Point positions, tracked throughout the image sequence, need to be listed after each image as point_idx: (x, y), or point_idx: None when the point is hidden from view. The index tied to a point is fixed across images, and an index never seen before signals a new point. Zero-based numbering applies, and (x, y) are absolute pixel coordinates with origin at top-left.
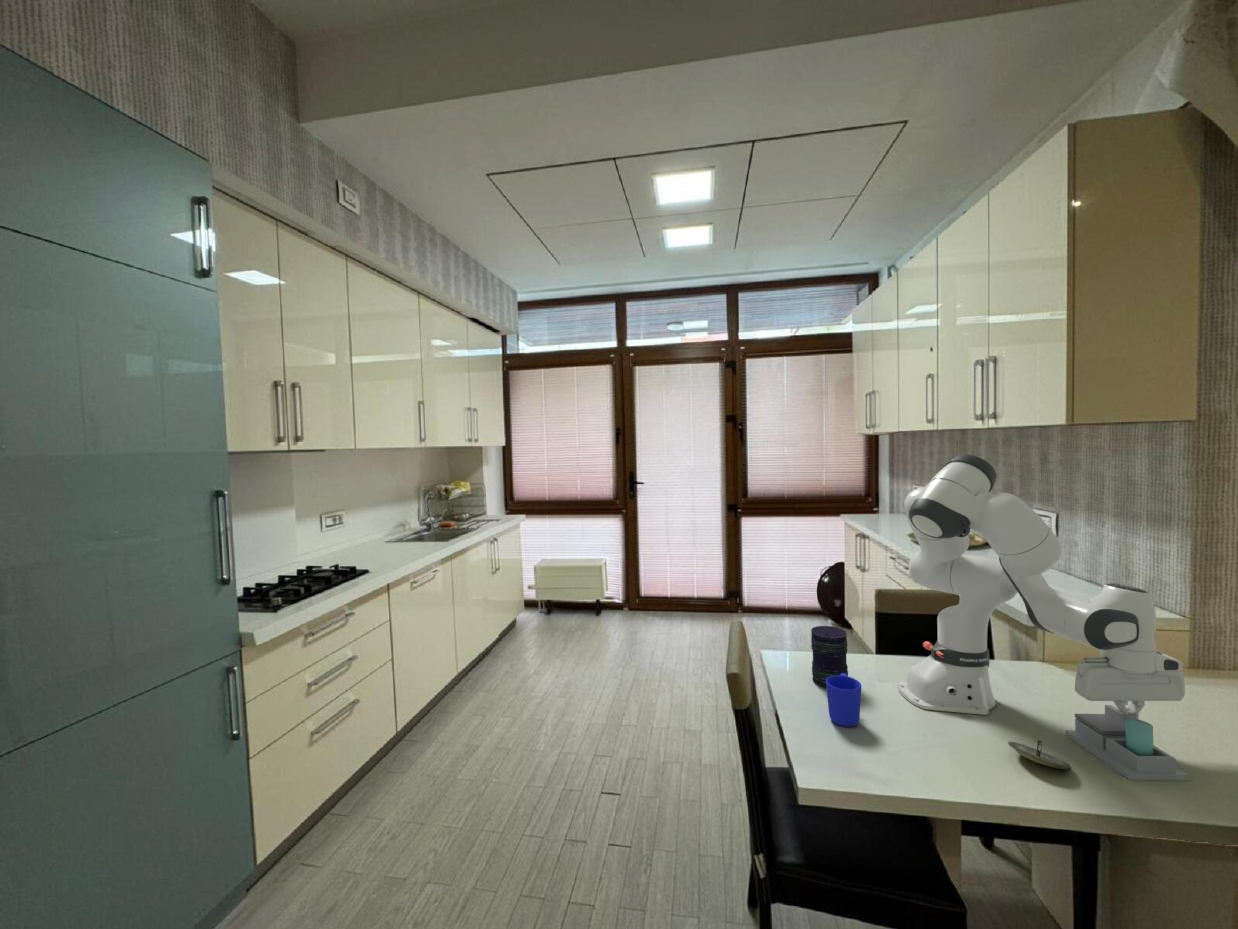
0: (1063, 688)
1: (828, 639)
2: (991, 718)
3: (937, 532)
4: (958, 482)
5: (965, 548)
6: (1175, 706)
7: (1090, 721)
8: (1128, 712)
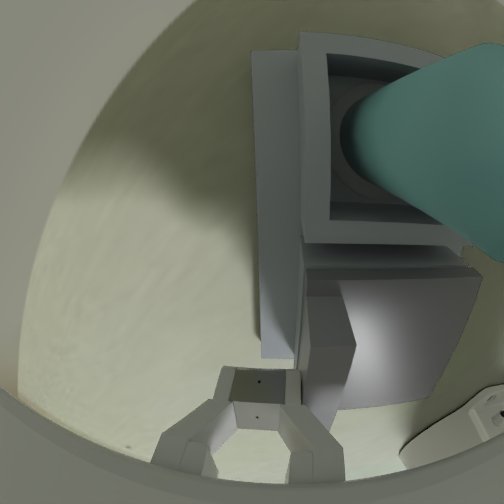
0: (216, 465)
1: None
2: (487, 379)
3: None
4: None
5: None
6: (65, 392)
7: (441, 354)
8: (280, 404)
